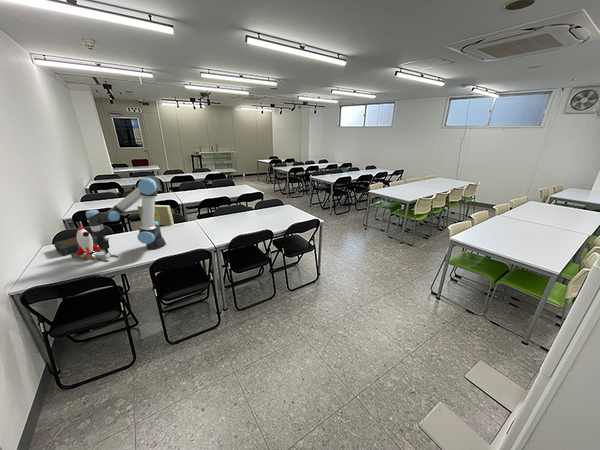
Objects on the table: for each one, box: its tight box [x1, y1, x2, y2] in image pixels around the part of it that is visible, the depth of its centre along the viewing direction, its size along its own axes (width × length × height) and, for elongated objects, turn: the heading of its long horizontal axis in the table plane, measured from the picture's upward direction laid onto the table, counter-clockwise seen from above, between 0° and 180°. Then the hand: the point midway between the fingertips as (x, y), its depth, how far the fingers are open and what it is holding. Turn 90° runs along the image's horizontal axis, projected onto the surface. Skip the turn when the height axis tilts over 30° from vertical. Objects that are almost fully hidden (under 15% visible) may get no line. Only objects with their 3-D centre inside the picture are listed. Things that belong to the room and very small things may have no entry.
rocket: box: [76, 226, 100, 255], centre depth 192 cm, size 11×11×25 cm
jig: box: [70, 249, 119, 263], centre depth 194 cm, size 34×16×4 cm, turn 73°
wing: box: [94, 251, 112, 260], centre depth 192 cm, size 9×6×4 cm, turn 73°
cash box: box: [53, 233, 98, 257], centre depth 208 cm, size 25×20×8 cm
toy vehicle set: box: [136, 204, 175, 226], centre depth 257 cm, size 35×5×22 cm, turn 85°
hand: (107, 256), depth 191 cm, fingers closed
